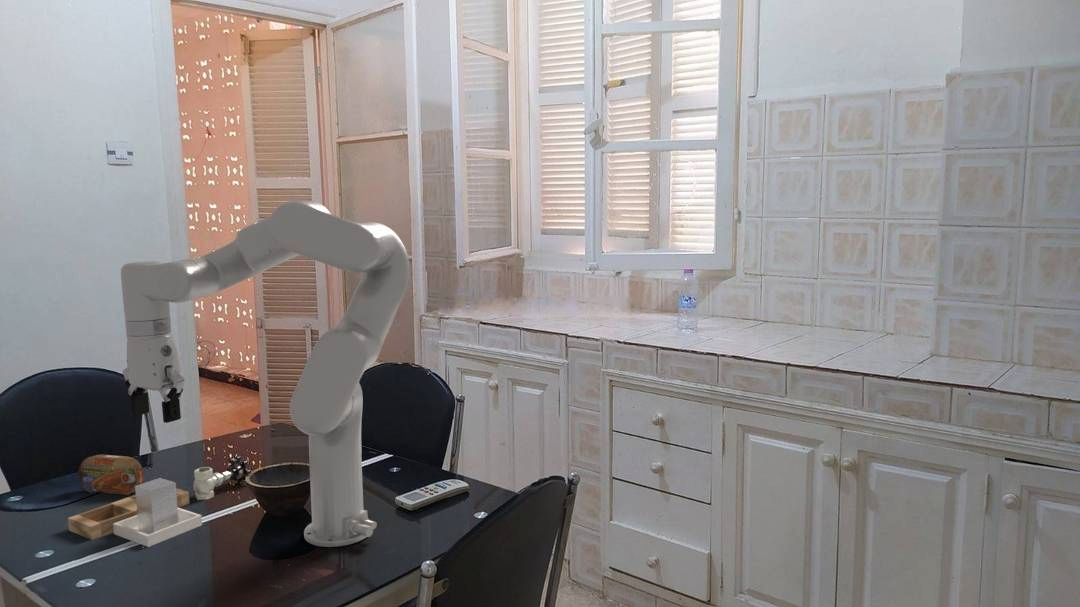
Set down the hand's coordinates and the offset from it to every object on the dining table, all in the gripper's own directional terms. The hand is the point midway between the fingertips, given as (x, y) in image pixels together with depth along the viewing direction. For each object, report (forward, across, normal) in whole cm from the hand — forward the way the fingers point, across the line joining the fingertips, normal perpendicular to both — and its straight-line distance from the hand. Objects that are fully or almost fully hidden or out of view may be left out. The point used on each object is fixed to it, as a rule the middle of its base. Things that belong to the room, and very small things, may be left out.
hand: (156, 417), depth 143 cm
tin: (+22, +28, -6) cm, 37 cm away
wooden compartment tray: (+22, +11, 0) cm, 25 cm away
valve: (+23, +8, -18) cm, 30 cm away
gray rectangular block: (+22, +1, +1) cm, 22 cm away
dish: (+22, +1, +1) cm, 22 cm away
